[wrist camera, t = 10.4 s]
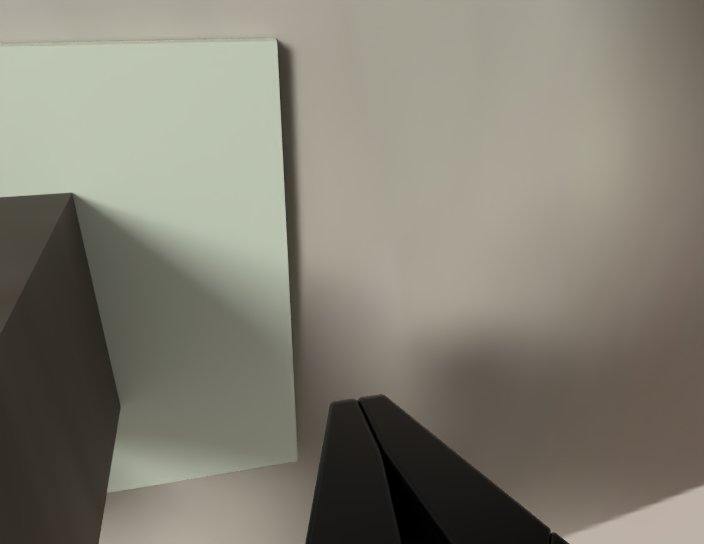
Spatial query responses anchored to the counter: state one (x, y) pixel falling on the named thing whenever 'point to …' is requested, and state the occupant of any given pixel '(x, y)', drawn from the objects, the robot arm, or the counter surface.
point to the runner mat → (170, 236)
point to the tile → (51, 378)
